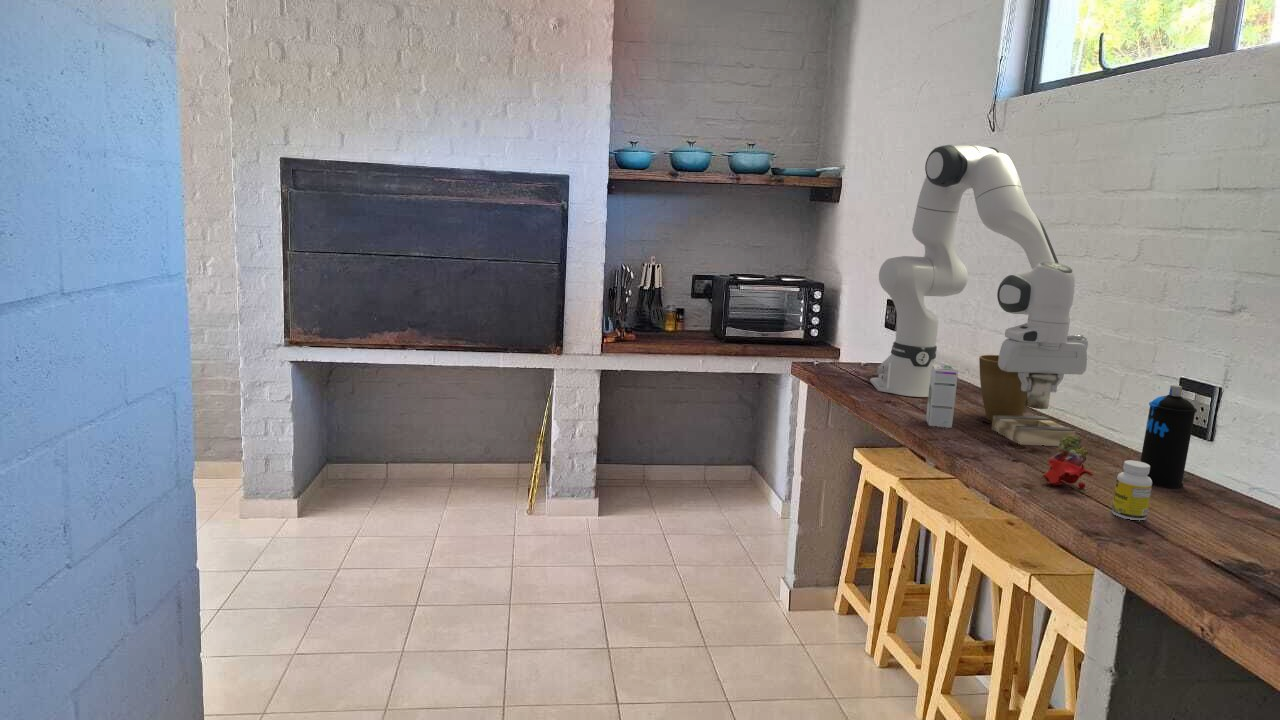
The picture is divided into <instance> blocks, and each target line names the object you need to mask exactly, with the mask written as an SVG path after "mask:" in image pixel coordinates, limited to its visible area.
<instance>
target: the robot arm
mask: <svg viewBox="0 0 1280 720" xmlns="http://www.w3.org/2000/svg"><path fill="white" fill-rule="evenodd" d="M924 170H925V175H926V176H925V178H924V181H923V184H922V186H921V189H920V192H919V195H918V199H917V203H916V208H915V214H914V219H913V223H912V227H911V231H912V234H913V237H914V238H915V239H916V240H917V241H918V242H919V244H922V245H923V246H924V255H923V256H909V255H902V256H896V257H890V258H886V260H885V261H884V262H883V263H882V265H881V266H880V268H879V271H878V281H879V282H878V283H879V285H880V286H881V288H882V290H883V291H884V292H886V293H887V294H888V295H889V297H890V298H891V300H892V302H893V305H894V307H895V311H896V329H895V330H896V331H895V341H893V342H892V346H891V351H890V355H889V356H888V357H887V358H886V359H884V361H883V362H881V363H880V365H878V366H876V374H878V377H871V378H870V379H869V382H870V383H871V384H872V385H873V387H874V388H875V390H877V391H878V392H884V393H889V394H894V395H898V396H899V395H900V396H906V397H915V398H928V394H929V385H930V376H931V368H932V365H938V364H937V362H936V361H935V359H936V357H937V353H938V351H937V349H938V347H937V345H936V343H937V336H938V329H939V327H938V326H939V320H938V317H937V316H936V314H935V313H933V312H932V311H931V310H929V309H927V307H926V305H925V302H924V301H925V299H924V298H925V297H949V296H954V295H958V294H960V293H962V292H963V291H964V289H965V288H966V286H967V284H968V280H969V274H968V272H969V271H968V269H967V267H966V266H965V264H964V262H963V261H962V260H961V259H960V258H959V256H958V254H957V251H956V246H955V232H956V226H957V223H958V222H957V221H958V217H959V210H960V206H961V200H962V197H963V194H964V193H965V192H966V191H968V190H970V189H972V191H973V195H974V201H975V205H976V209H977V214H978V216H979V218H980V221H981V222H982V224H983V225H984V226H985V227H986V228H988V229H989V230H991V231H992V232H995V233H996V234H1000V235H1003V236H1004V237H1006V238H1009V239H1011V240H1012V241H1014V242H1015V243H1016V244H1018V245H1019V246H1020V248H1022V249H1023V251H1024V252H1025V255H1026V257H1027V260H1028V262H1029V265H1030V267H1031V269H1029V270H1027V271H1023V272H1020V273H1015V274H1010V275H1008V276H1006V277H1005V278H1003V279H1002V280H1001V282H1000V283H999V285H998V289H997V293H996V294H997V295H996V296H997V302H998V304H999V306H1000V308H1001V309H1002V310H1003V311H1004V312H1006V313H1009V314H1013V315H1025V316H1026V315H1028V318H1027V321H1026V323H1023V324H1020V325H1015V326H1013V327H1008V328H1006V329H1005V331H1004V337H1005V338H1006V339H1005V340H1004V341H1002V343H1001V346H1000V350H999V354H998V355H999V359H998V366H999V368H1000V369H1001V370H1003V371H1006V372H1018V376H1019V379H1020V381H1021V383H1022V385H1021V390H1022V391H1028V392H1030V391H1031V386H1032V385H1031V384H1029V383H1028V382H1027V379H1026V377H1028V376H1029V373H1051V374H1056V380H1052V385H1051V392H1050V393H1057V391H1058V386H1059V385H1060V383H1062V382H1063V380H1064V377H1065V376H1064V375H1083V374H1084V373H1086V370H1087V365H1088V364H1087V363H1088V355H1087V354H1088V353H1087V351H1088V344H1089V343H1088V342H1089V341H1088V338H1086V337H1084V335H1082V334H1069V330H1070V321H1071V320H1070V312H1071V311H1070V310H1071V308H1072V306H1073V302H1074V297H1075V296H1074V295H1075V284H1076V283H1075V281H1076V280H1075V273H1074V270H1073V268H1072V267H1070V266H1068V265H1065V264H1062V263H1059V260H1058V258H1057V255H1056V252H1055V250H1054V248H1053V246H1052V243H1051V240H1050V238H1049V236H1048V233H1047V232H1046V228H1045V227H1044V225H1043V223H1042V222H1041V221H1042V220H1040V219H1039V218H1038V215H1036V214H1035V213H1034V211H1033V210H1032V209H1031V206H1030V204H1029V203H1028V202H1029V201H1028V200H1027V198H1026V195H1025V193H1024V192H1025V191H1024V189H1023V186H1022V183H1021V179H1020V176H1019V174H1018V171H1017V168H1016V166H1015V165H1014V163H1013V161H1012V159H1011V158H1010V157H1009V155H1008V154H1006V153H1005V152H1004V151H1003V150H1002V149H1001V150H1000V149H998V148H996V147H989V146H988V147H986V146H982V145H974V144H968V145H952V144H946V145H945V144H944V145H940V146H937V147H935V148H933V149H932V150H931V151H930V152H929V154H928V156H927V158H926V161H925V165H924Z"/></svg>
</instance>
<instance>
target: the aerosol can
mask: <svg viewBox="0 0 1280 720" xmlns="http://www.w3.org/2000/svg"><path fill="white" fill-rule="evenodd" d="M1182 389H1183V386H1181V385H1177V384H1170V388H1169V393H1168V394H1167V395H1161V396H1158V397H1156V398H1154V399H1153V400H1152V401H1150V402H1149V403H1148V405H1149V409H1148V416H1147V420H1146V421H1147V422H1146V427H1145V432H1144V440H1143V444H1142V450H1141V455H1140V457H1141V458H1140V460H1139V462H1143V463H1146V464H1148V465H1150V471H1149V474H1148V475H1147V476H1148V477H1149V478H1151V480H1152V486H1154V485H1155V487H1158V486H1159V487H1158V488H1164V487H1166V489H1181V488H1183V486H1184V483H1183V480H1184V475H1185V469H1186V463H1187V459H1188V452H1189V447H1190V441H1191V436H1192V433H1193V431H1192V430H1193V427H1194V421H1195V420H1194V419H1195V417H1196V416H1195V415H1196V413H1197V412H1198V410H1197V408H1196V407H1195V406H1194V405H1193V403H1191V401H1189V400H1188V399H1185V398H1184V397H1182V396H1181V395H1182ZM1180 487H1181V488H1180Z"/></svg>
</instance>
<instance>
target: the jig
mask: <svg viewBox="0 0 1280 720" xmlns="http://www.w3.org/2000/svg"><path fill="white" fill-rule="evenodd" d="M991 422H992V423H991V429H992V431H993V430H994V432H995V431H996V432H995V433H997V432H998V433H997V434H999V435H1001V436H1002V435H1003V437H1004V436H1005V438H1007V439H1008V440H1010V441H1011V442H1014V443H1016V444H1017V443H1018V445H1019V444H1020V446H1021V445H1022V446H1042V445H1044V446H1046V447H1047V446H1048V447H1049V446H1051V447H1058V446H1059V444H1060V440H1061V439H1063V438H1064V437H1066V436H1076V430H1075V429H1073V428H1071V427H1067V426H1064V425H1061V424H1059V423H1057V422H1055V421H1052V420H1051V418H1049V417H1047V416H1041V415H1040V416H1038V415H1037V416H1036V415H1022V416H1012V415H994V416H993V421H991ZM1044 446H1043V447H1044Z"/></svg>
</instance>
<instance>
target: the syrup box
mask: <svg viewBox="0 0 1280 720" xmlns="http://www.w3.org/2000/svg"><path fill="white" fill-rule="evenodd" d="M958 378H959V370H958V369H957V368H956V367H955V366H953V365H947V364H937V365H932V368H931V376H930V385H929V394H928V397H927V402H926V403H927V405H926V413H925V415H926V416H925V422H926V423H927V425H928V426H929V427H935V426H937V428H944V427H945V429H952V428H953V422H954V421H953V420H954V414H955V413H954V412H955V405H956V404H955V403H956V393H957V384H958Z"/></svg>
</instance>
